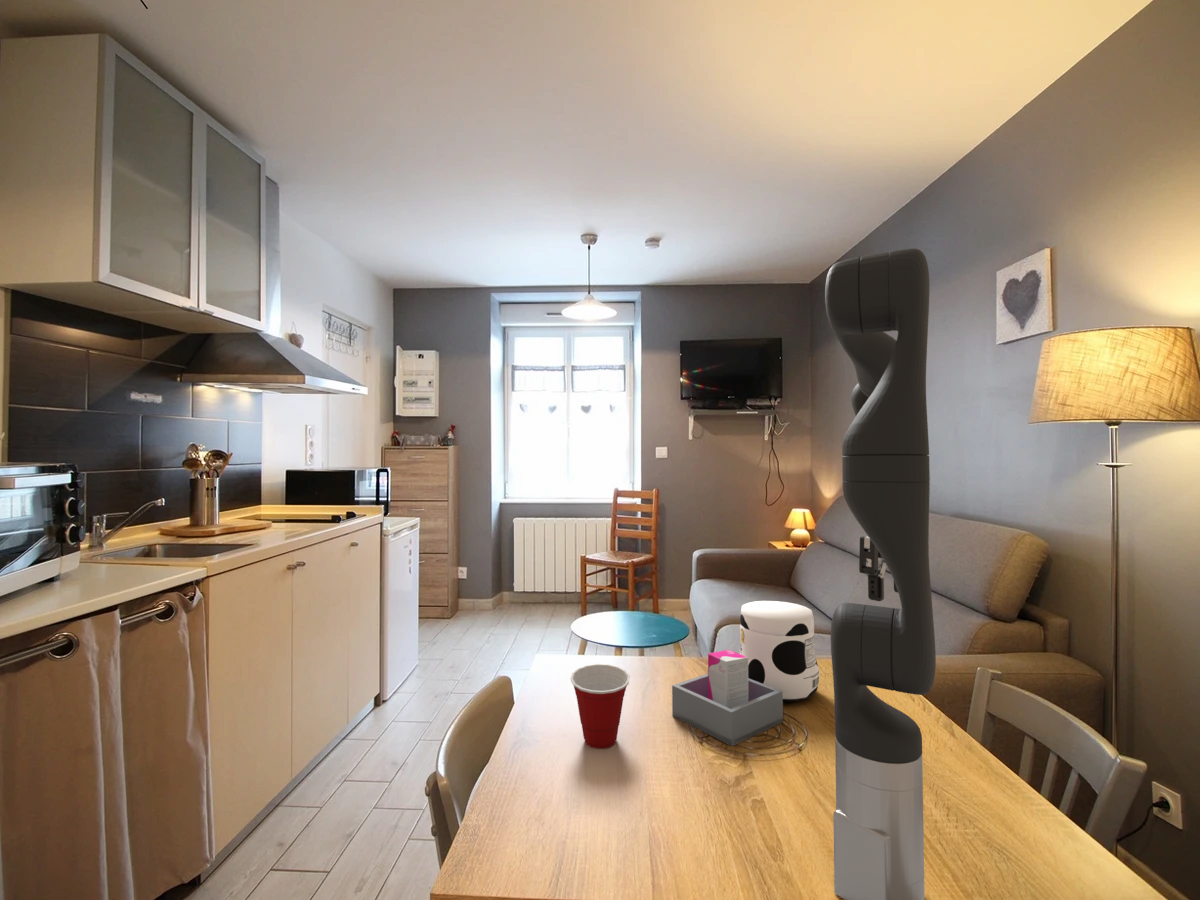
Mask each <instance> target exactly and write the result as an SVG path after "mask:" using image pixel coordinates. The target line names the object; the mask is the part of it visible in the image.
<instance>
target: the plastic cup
mask: <svg viewBox="0 0 1200 900" xmlns="http://www.w3.org/2000/svg"><path fill="white" fill-rule="evenodd" d="M569 678H570V682H571V684H572V685H573V689H574V692H575V697H576V701H577V708H578V715H579V720H580V724H581V729H582V736H583V740H584V742H585V744H586V745H587V746H588V747H589V748H592V749H601V750H602V749H608V748H611V747H613V746H614V745H615V744H616V742H617V738H618V733H619V727H620V726H619V725H620V723H621V716H622V709H623V703H624V697H625V693H626V689H627V687H628V685H630V684H629V683H630V681H631V676H630V674H629V672H627V670H626V669H623V668H621V667H619V666H616V665H611V664H603V663H601V664H600V663H596V664H587V665H584V666H582V667H579V668H577V669H576V670H574V671H573V672H572V673H571V675H570V677H569Z"/></svg>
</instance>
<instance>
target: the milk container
mask: <svg viewBox="0 0 1200 900" xmlns="http://www.w3.org/2000/svg"><path fill="white" fill-rule="evenodd" d="M814 620H815V618H814V614H813V610H812V609H811V608H808V607H807V606H805V605H801V604H799V603H793V602H787V601H778V600H758V601H757V600H756V601H750V602H746V603H744V604H742V605H741V609H740V620H739V621H740V624H739V632H740V633H739V634H740V643H739V644H740V645H739V646H740V647H739V651H738V654H741V655H743V656H746V657H748V678H749V679H752V680H754V681H757V682H760V683H762V684H765V685H768V686H770V687H773V688H775V689H778V690H781V691H783V703H784V702H788V703H789V702H790V703H792V702H800V701H804V700H807V699H810V698H811V697H813V696H814V695H815V694H816V692H817V690H818V687H819V683H820V668H819V665H818V661H817V658H816V653H815V621H814Z"/></svg>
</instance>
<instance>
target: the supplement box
mask: <svg viewBox="0 0 1200 900" xmlns="http://www.w3.org/2000/svg"><path fill="white" fill-rule="evenodd" d="M707 664H708V665H707V674H708V699H710V700H712V701H714V702H717V703H719V704H721V705H723V706H726V707H728V708H730V709H732V708H734V707H736V706H739V705H741V704H744V703H746V702H748V657H746V656H743V655H741V654H739V652H738V653H737V652H736V651H734V650H731V649H724V650H719V651H714V652H709V653H708V654H707Z"/></svg>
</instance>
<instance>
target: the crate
mask: <svg viewBox="0 0 1200 900" xmlns="http://www.w3.org/2000/svg"><path fill="white" fill-rule="evenodd" d="M671 693H672V695H671V697H672V700H671V701H672V703H671V705H672V710H671V711H672V712H671V713H672V715H671V716H672V717H674V718H676V719H678V720H680V721H681V722H684V723H685V724H687V725H689V726H691V727H693V728H695V729H698V730H699V731H700V732H703V733H705V734H707V735H709V736H711V737H713V738H715V739H716V740H719V741H721V742H722V743H725V744H726V745H728V746H730V747H734V746H735V745H738V744H740V743H742V742H745V741H746V740H748V739H752V738H753V737H756V736H757V735H759V734H761V733H763V732H765V731H768V730H770V729H772V728H775V727H776V726H779V725H780V724H782V723H784V722H783V721H784V709H783V708H784V705H783V704H784V701H783V691H781V690H778V689H775V688H773V687H770V686H768V685H765V684H762V683H760V682H757V681H754V680H752V679H749V678H748V702H746V703H744V704H741V705H739V706H736V707H734V708H732V709H730V708H728V707H726V706H723V705H721V704H719V703H717V702H714V701H712V700H710V699H708V673H706V674H702V675H699V676H695V677H693V678H690V679H687V680H685V681H682V682H678V683H675V684H672V686H671Z"/></svg>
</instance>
